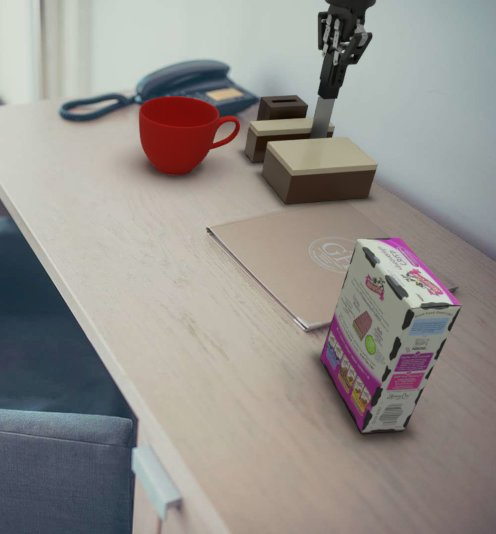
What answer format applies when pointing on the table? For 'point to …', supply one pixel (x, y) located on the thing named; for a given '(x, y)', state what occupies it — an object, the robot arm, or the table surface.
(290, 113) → the knife block
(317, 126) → the knife
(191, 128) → the ceramic cup
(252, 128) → the cake slice
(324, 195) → the cake
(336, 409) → the table surface
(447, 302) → the candy bar box
